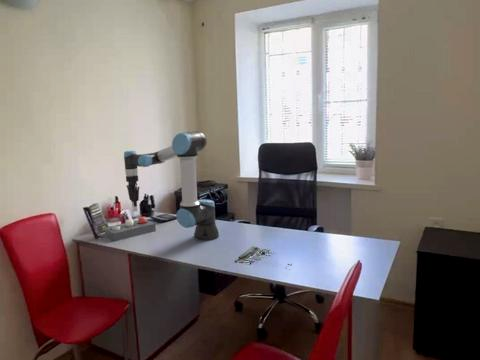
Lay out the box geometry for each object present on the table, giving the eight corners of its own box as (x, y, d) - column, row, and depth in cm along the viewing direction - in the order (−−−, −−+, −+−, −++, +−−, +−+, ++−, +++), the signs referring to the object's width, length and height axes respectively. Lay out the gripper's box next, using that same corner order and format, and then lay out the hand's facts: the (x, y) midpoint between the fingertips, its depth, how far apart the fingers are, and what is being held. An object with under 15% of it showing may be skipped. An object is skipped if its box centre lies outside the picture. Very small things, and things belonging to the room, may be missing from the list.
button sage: (122, 233, 237) (121, 226, 236) (114, 235, 233) (113, 228, 232) (118, 232, 240) (118, 225, 239) (111, 233, 237) (110, 227, 236)
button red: (147, 224, 248) (147, 217, 247) (140, 225, 245) (140, 219, 244) (144, 222, 252) (143, 216, 251) (137, 224, 248) (136, 217, 248)
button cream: (135, 227, 242) (134, 220, 241) (127, 228, 239) (127, 222, 238) (131, 225, 246) (131, 219, 245) (124, 227, 242) (123, 220, 242)
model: (290, 272, 177) (290, 269, 177) (234, 262, 191) (234, 259, 190) (304, 256, 196) (304, 254, 195) (252, 249, 209) (252, 246, 209)
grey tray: (155, 230, 246) (155, 223, 245) (114, 241, 228) (113, 233, 227) (144, 226, 258) (143, 218, 257) (104, 235, 240) (103, 228, 239)
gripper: (142, 175, 237) (145, 211, 241) (132, 173, 246) (135, 208, 250) (131, 177, 232) (134, 214, 236) (121, 175, 241) (125, 210, 245)
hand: (135, 211), depth 243 cm, fingers closed
